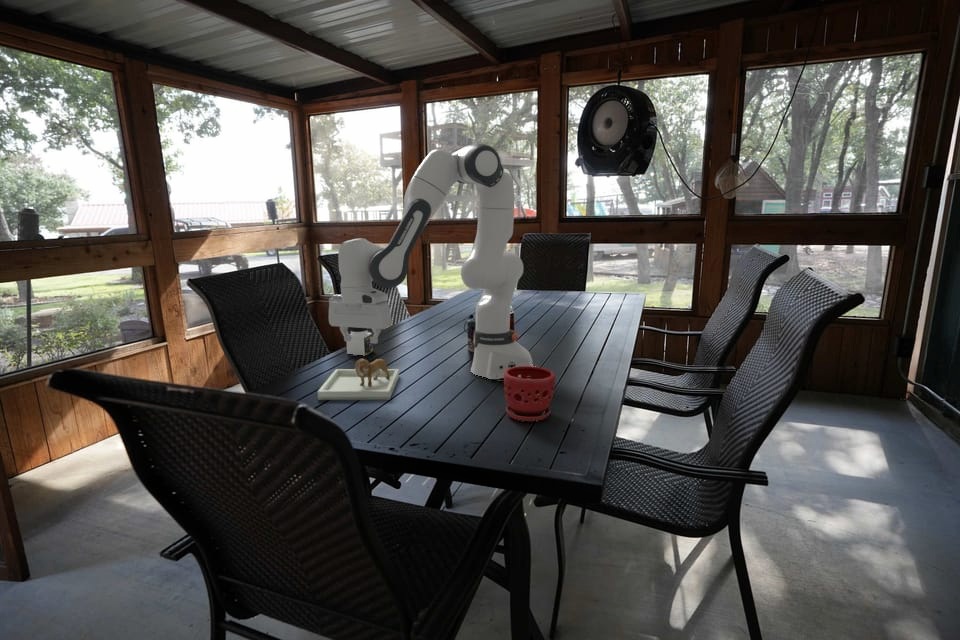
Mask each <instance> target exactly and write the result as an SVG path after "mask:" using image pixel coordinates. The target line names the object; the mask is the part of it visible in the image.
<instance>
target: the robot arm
mask: <svg viewBox="0 0 960 640" xmlns="http://www.w3.org/2000/svg"><path fill="white" fill-rule="evenodd" d="M513 180H514V179H513V177H512V176H511V175H510V173H509V172H506V171H505V170H504V168H503V165H502V160H501V157H500V156H499V153H498V152H497V151H496V149H495V148H494V147H493V146H490V145H488V144H484V143H478V144H477V143H476V144H469V145H466V146H463V147H459V148H456V149H455V150H453V151H452V152H449V151H447V150H445V149H441V148H440V149H439V148H438V149H437V148H436V149H432V150H431V151H430V152H429V153H428V154H427V155H426V156H425V158H424V159H423V160H422V162H421V163H420V164H419V166H418V167H417V169H416V170H415V172H414V174H413V175H412V178H411V180H410V181H409V183H408V185H407V188H406V191H405V193H404V197H403V206H404V208H403V213H402V217H401V221H400V223H399V224H398V226H397V228H396V230H395V231H394V233H393V235H392V237H391V239H390V241H389V243H388V244H387V246H386V247H383V246H380V245H378V244H375V243H373V242H371V241H369V240H368V239H366V238H363V237H358V238H353V239H349V240H346V241H344V242H342V243H341V244H340V245H339V248H338V253H337V254H338V257H337V258H338V271H339V274H340V279H341V280H340V293H341V294H333V295H331V296H330V298H329V299H328V304H329V305H328V323H329V325H330V326H331V327H339V330H340V332H341V335H342V336H343V341H344V342H347V341H351V340H352V338H351V337H352V335H350V333H349V330H348V329H349V328H350V327H356V328H367V329H371V331H372V332H371V333H372V337H371V338H370V340H371V341H370V343H372V345H373V344H378V343H379V338H378V337H379V335H380V334H381V330H385V329H387V328H390V326H391V325H392V313H391V308H390V305H389V303H388V302H387V301H388V300H389V295H388V294H387V293H385V292H384V291H381V290H379V289H376V288H374V287H373V282H374V283H376V285H378V286H380V287H383V288H386V289H387V288H389V289H391V288H396V287H397V286H399V285H401V284H402V283H403V282H404V281H405V279H406V277H407V275H408V271H409V262H410V261H409V260H410V256H411V254H412V251H413V249H414V247H416V244H417V242H418V240H419V238H420V236H421V234H422V232H423V231H424V228H425V227H426V226H427V224H428V223H429V222H430V220H431V219H432V218H433V216H434V215H435V214H436V213H437V212H438V210H439V209H440V207H441V206H442V204H443V203H444V202H445V200H446V198H447V196H448V194H449V192H450V191H451V188H452V187H453V186H454V185H455V183H460V184H468V185H475V186H476V189H477V191H478V192H477V193H478V197H479V198H478V211H477V212H478V214H477V229H476V235H475V240H474V242H473V245H472V248H471V250H470V253H469V255H468V257H467V258H466V260H465V261H464V262H462V264H461V268H460V277H461V280H462V282H463V284H464V285H465V286H466V287H467V288H468V289H471V290H477V291H483V292H482V295H481V297H480V299H479V300H478V302H477V304H476V307H475V329H474V331H473V347H474V353H473V359H472V363H471V364H472V365H471V368H470V370H471V371H470V373H471V372H472V373H473V374H472V373H471V374H472V375H474V374H475V375H474V376H476V375H478V376H477V377H479V376H482V377H481V378H483V377H486V378H488V379H500V378H504V372H505V371H506V370H507V369H509V368H513V367H519V366H533V364H534V363H533V359H532V358H533V357H532V355H531V353H530V351H529V350H528V349H526V348H525V347H524V346H522V345H521V344H520V343H519V342H517V340H519V336H518V334H517V333H516V332H515V331H514V330H513V329H510V327H511V326H510V324H511V323H510V322H511V306H512V302H513V296H514V294H515V289H516V287H517V284H518V282H519V280H520V279H521V277H522V276H523V273H524V263H523V260H522V259H521V258H520V256H518V255H517V254H515V253H512V252H508V251H505V250H506V246H507V244H508V242H509V241H510V239H511V238H512V236H513V234H514V221H515V219H514V218H515V205H516V204H515V188H514V187H515V186H514V181H513ZM532 363H533V364H532ZM536 366H537V365H536ZM536 366H535V367H536ZM533 367H534V366H533ZM518 377H521V375H518ZM486 378H485V379H486ZM488 379H487V380H488Z"/></svg>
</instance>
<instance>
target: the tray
mask: <svg viewBox="0 0 960 640" xmlns="http://www.w3.org/2000/svg"><path fill="white" fill-rule="evenodd" d="M387 370H388V371H389V373H390V378H389V379H386V377H387V375H386V373H385V372H383V371H382V370H381V369H380V371H379V372H380V375H379V376H378V378H377V379H376V380H374V379H373V378H374V377H376V373H374V374H372V378H371V382H372V386H371V387H368V377H366V378H364V381H365V382H364V385H363V386H360V383H362V381H361V377H359V376H358V375H357V373H356V369H355V368H353V369H351V368H350V369H349V368H347V369H344V368H336V369H334V370H333V372H332V373H331V374H330V376H328V378H327V379H326V381H325V382H324V383H323V384H322V385H321V387H320V388H319V389H318V390H317V400H318V401H335V400H336V401H344V400H345V401H377V400H378V401H382V400H384V401H387V400H388V401H389V400H391V397H392V394H393V392H394V390H395V387H396V385H397V382H398V380H399V378H400V369H399V368H387Z"/></svg>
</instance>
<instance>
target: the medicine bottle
mask: <svg viewBox="0 0 960 640" xmlns="http://www.w3.org/2000/svg"><path fill="white" fill-rule="evenodd" d="M349 328H350V333H349V335H352V337H351V338H352V340H351V341H346V355H347V354H353V355H352V356H357V355H363V356H362V357H365V355H366V356H367V355H369V354H370V353H372V352H373V349H374V348H373V343H370V341H371V340H370V338H371V337H373V332H369V331H368V328H356V327H349Z"/></svg>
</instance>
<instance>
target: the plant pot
mask: <svg viewBox="0 0 960 640" xmlns="http://www.w3.org/2000/svg"><path fill="white" fill-rule="evenodd" d="M518 375H521V377H520V378H518ZM528 376H529V377H530V378H527V377H528ZM537 378H538V379H537ZM555 380H556V374H555V373H554V371H552V370H550V369H547V368H545V367H539V366H537V367H533V366H519V367H513V368H509V369H507V370H506V371H505V372H504V380H503V385H504V386H503V391H504V397H505V401H506V403H507V406H506V407H505V411H506V414H507V415H508V417H510V418H512V419H513V418H514V419H513V420H516V419H518V420H517V421H519V420H525V421H533V420H541V419H543V420H545V419H547V418H548V417H549V416H550V415H549V414H551V408H550V407H549V406H550V404H551V402H552V399H553V396H554V392H555V391H554V390H555V383H556V381H555ZM544 411H545V413H544V414H543V415H542V413H543V412H544ZM546 417H547V418H546ZM544 418H545V419H544ZM541 421H542V420H541Z"/></svg>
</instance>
